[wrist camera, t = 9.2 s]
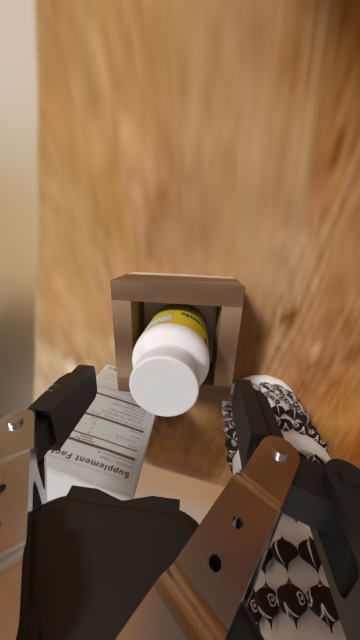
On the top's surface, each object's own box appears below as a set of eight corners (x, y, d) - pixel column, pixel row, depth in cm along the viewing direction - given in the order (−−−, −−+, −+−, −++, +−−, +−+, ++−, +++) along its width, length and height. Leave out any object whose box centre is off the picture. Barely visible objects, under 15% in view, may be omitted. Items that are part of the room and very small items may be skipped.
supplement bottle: (217, 338, 21) (228, 410, 12) (169, 359, 22) (146, 438, 13) (191, 290, 20) (182, 329, 11) (143, 315, 21) (96, 369, 12)
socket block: (132, 272, 21) (110, 280, 16) (234, 277, 20) (245, 287, 15) (135, 360, 25) (118, 390, 19) (223, 367, 24) (229, 401, 19)
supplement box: (150, 426, 28) (112, 562, 16) (96, 408, 28) (15, 531, 16) (167, 380, 25) (135, 502, 13) (107, 361, 25) (21, 465, 13)
